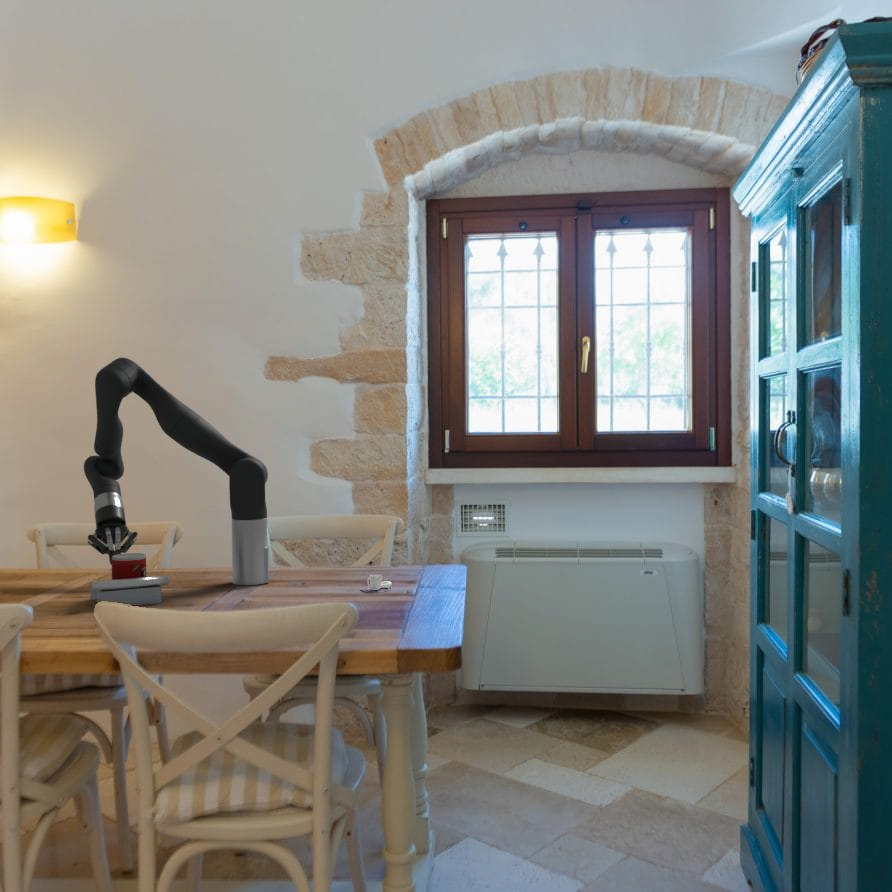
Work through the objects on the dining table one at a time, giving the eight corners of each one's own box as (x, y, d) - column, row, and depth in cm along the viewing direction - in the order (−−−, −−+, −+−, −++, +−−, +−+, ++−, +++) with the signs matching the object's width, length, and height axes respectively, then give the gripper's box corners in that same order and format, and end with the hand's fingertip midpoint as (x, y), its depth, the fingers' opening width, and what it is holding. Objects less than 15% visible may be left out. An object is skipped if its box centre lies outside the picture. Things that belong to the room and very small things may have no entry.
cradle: (159, 592, 224) (159, 567, 224) (169, 602, 212) (168, 576, 212) (87, 599, 216) (86, 573, 216) (93, 610, 204) (92, 582, 204)
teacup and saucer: (388, 587, 232) (388, 571, 232) (398, 592, 225) (398, 576, 224) (356, 589, 229) (356, 574, 228) (365, 595, 221) (365, 579, 221)
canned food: (137, 604, 210) (137, 558, 210) (106, 603, 211) (105, 557, 211) (152, 597, 218) (151, 553, 217) (121, 597, 219) (121, 552, 218)
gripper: (134, 520, 246) (141, 571, 235) (82, 523, 240) (87, 575, 229) (136, 502, 241) (144, 553, 230) (84, 505, 235) (89, 557, 224)
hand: (116, 564), depth 230 cm, fingers closed
